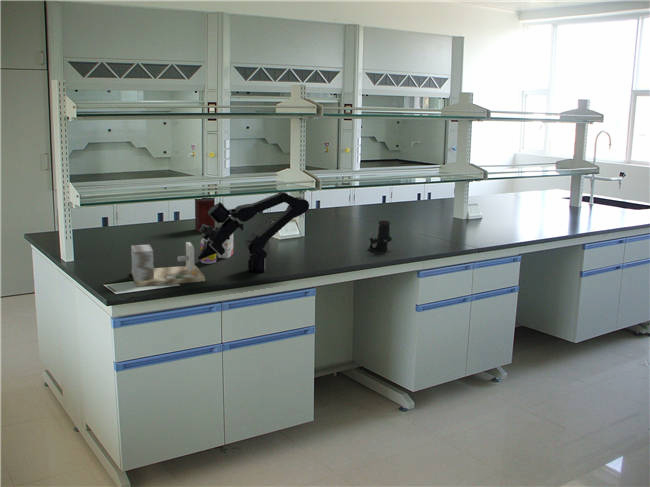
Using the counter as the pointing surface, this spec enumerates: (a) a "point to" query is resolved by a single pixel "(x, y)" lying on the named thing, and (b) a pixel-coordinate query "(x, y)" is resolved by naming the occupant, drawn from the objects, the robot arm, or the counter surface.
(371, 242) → the scope
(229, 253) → the ink cartridge box
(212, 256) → the supplement bottle
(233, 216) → the robot arm
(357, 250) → the counter surface
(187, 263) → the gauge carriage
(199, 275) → the gauge frame
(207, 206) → the toy vending machine
